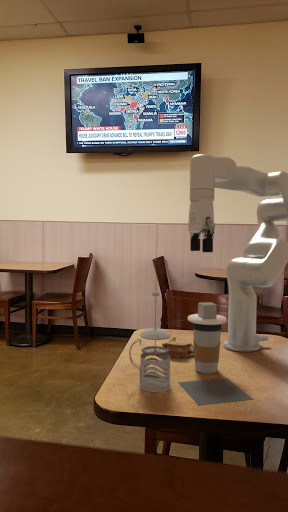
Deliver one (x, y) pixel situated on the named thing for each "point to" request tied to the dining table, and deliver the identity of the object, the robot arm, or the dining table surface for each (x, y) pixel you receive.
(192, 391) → the mat
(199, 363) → the coffee cup
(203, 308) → the lid
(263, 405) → the dining table surface
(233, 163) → the robot arm
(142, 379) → the french press
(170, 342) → the toy sandwich meal
